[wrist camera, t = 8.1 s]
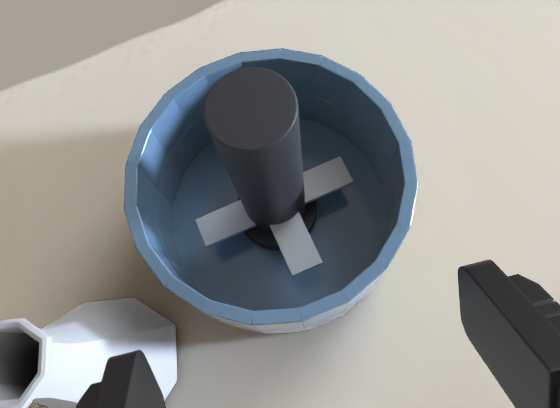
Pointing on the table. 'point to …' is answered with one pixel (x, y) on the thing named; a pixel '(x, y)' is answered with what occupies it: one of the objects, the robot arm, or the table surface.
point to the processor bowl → (221, 192)
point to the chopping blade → (266, 167)
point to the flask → (81, 351)
